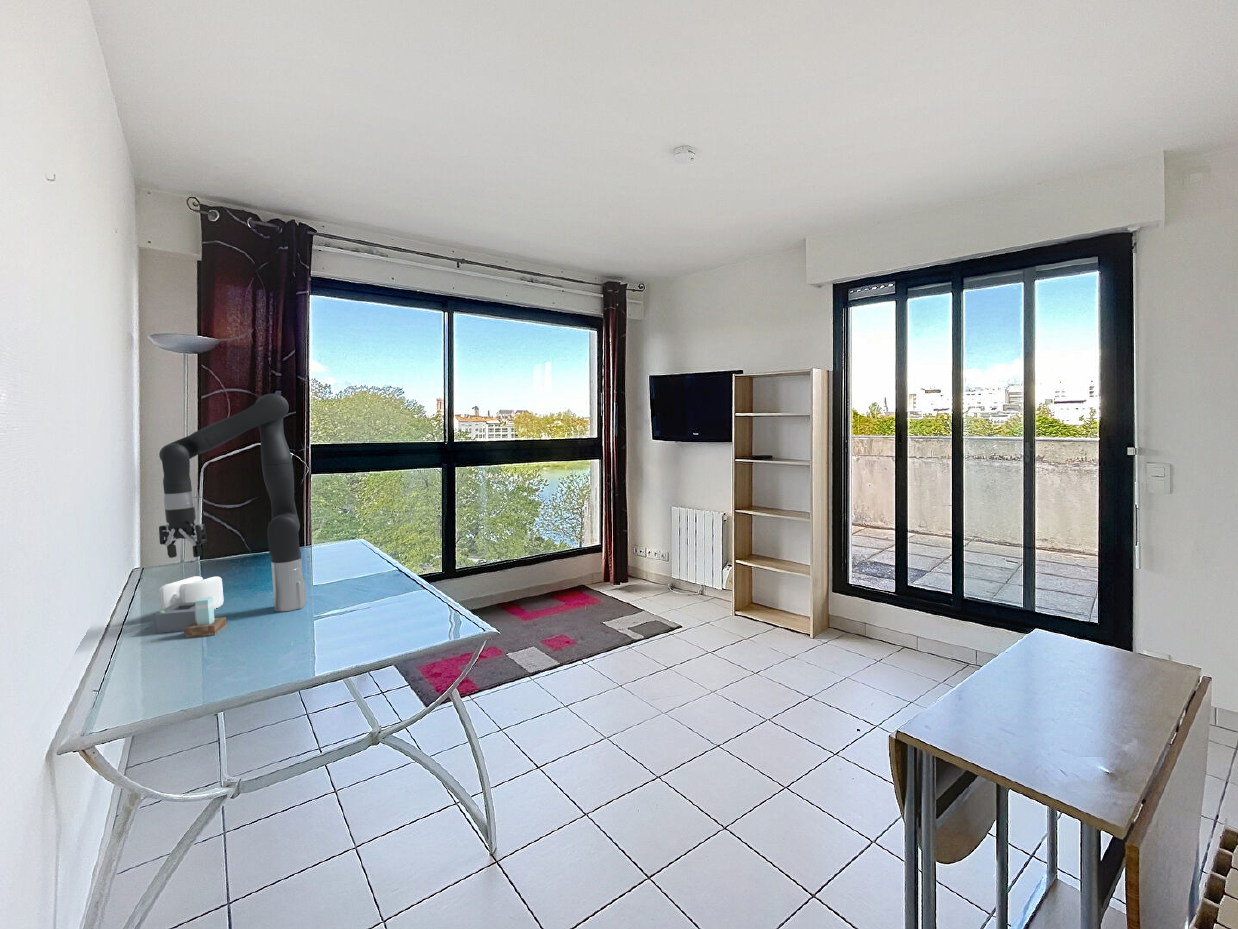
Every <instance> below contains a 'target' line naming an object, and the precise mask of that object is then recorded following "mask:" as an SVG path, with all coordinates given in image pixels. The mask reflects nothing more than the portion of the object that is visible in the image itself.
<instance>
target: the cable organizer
mask: <svg viewBox="0 0 1238 929" xmlns="http://www.w3.org/2000/svg"><path fill="white" fill-rule="evenodd" d="M223 590H224V588H223V579H222V578H221V576H212V577H208V578H203V577H202V576H198V575H197V576H191V577H188V578H184V579H181V580H177V581H174V582H171V583H166V584H164V585H162V586H160V588H159V591H158V593H159V594H158V595H159V596H158V597H159V604H160V606H159V607H160V612H161V611H162V610H164V609H166V608H168V607H169V606H171V605H173V604H178V603H190V602H195V601H196V600H198V599H200V598H206V597H213V603H214V605H213V606H214V609H215V610H217V609H216V608H218V609H219V608H220V607H221V606H223V604H224V600H225V599H224V591H223Z"/></svg>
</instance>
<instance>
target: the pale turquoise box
mask: <svg viewBox="0 0 1238 929" xmlns="http://www.w3.org/2000/svg"><path fill="white" fill-rule="evenodd" d="M195 604H196V606H195V607H196V616H197V625H208V624H212V623H213V622H214V621H215V618H216V617H215V610H214V606H213V605H214V603H213V597H206V598H200V599H198V600H196V601H195Z"/></svg>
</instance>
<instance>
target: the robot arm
mask: <svg viewBox="0 0 1238 929" xmlns="http://www.w3.org/2000/svg"><path fill="white" fill-rule="evenodd" d="M289 406H290V405H289V403H288V400H287V399H286V398H285V397H284V396H283V395H280V394H277V393H267V394H264V395H262V396H260V397H258V398H257V399H256V401H255V403H254V404H252V405H250V406H249V407H247V408H246V409H245V410H244V409H243V411H240V412H238V413H236V414H233V415H231V416H229V417H226V418H224V419H220V420H218V421H216V422H213V423H212V424H209V425H206V426H205V427H202V428H201V429H198V430H197V431H194V432H193V433H191V434H190V435H188V436H185V437H183V438H179V439H178V440H175V441H173V442H170V443H168V444H166V445H164V446H163V447H162V448H161V449H159V450H160V451H159V456H158V457H159V459H160V461H161V464H162V472H163V478H162V485H163V493H164V495H163V496H164V498H163V503H164V514H165V521H166V523H167V524H163V525H160V526H158V536H159V544H160V545H164V546H166V551H167V555H168V558H170V559H173V558H176V557H177V556H178V553H177V546H176V543H177V542H178V540H180V539H182V540H183V539H184V540H185V539H186V540H187V541H188V542H190V543H191V545H192V556H193V558H199V557H201V556H202V554H203V551H202V544H204V543H207V542H208V539H207V538H208V536H207V531H206V525H205V523H200V524H196V523H195V521H196V517H197V515H196V506H195V499H194V494H193V489H192V488H193V487H192V479H191V475H190V474H191V469H190V468H191V465H190V464H191V463H190V462H191V459H193V458H194V457H196V456H198V455H200V454H202V453H203V454H204V453H206V452H207V453H208V452H210V451H211V450H213V449H216V448H218V447H219V446H221V445H223V444H225V443H227V442H229V441H231V440H232V439H235V438H237V437H238V436H240V435H242V434H244V433H246V432H247V431H250V430H252V429H254V428H257V427H258V428H259V435H260V458H261V469H262V476H263V480H264V485H265V489H266V491H267V494H268V496H269V499H270V505H271V520H270V522H269V523H268V525H267V543H268V544H267V545H268V551H269V556H270V561H271V562H270V563H271V564H270V566H271V577H272V591H273V593H272V594H273V602H274V604H273V605H274V611H276V612H288V611H289V612H290V611H294V610H301V609H302V608H303V607H304V606H306V604H307V593H306V592H307V591H306V578H305V577H303V567H302V566H303V565H302V564H303V563H302V551H301V547H300V536H299V531H300V528H301V523H300V519H299V515H298V510H297V507H296V502H295V501H296V500H295V477H294V476H295V474H294V465H293V458H292V454H291V451H290V448H289V445H288V442H287V439H286V437H285V432H284V431H285V430H284V418H285V417H286V415H288V413H289V408H290V407H289Z"/></svg>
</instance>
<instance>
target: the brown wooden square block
mask: <svg viewBox="0 0 1238 929" xmlns="http://www.w3.org/2000/svg"><path fill="white" fill-rule="evenodd" d="M214 618H215V621H214V622H213V623H212V624H208V625H197V621H195V622H194V623H192V624H191V625H189V626H188V627H186V628H185V631H184V632H185V638H186V639H187V638H199V637H207V636H206V635H210V636H214V635H213V634H216V633H217V632H218V633H220V632H221V631H222V630H224V629H225V628H226V627H227V617H226V616H224V617H214ZM225 626H226V627H225ZM224 627H225V628H224ZM223 628H224V629H223ZM221 629H222V630H221ZM220 630H221V631H220ZM219 631H220V632H219ZM218 633H217V634H218ZM217 634H216V635H217Z"/></svg>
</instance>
